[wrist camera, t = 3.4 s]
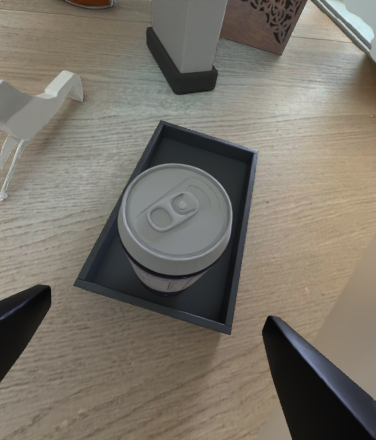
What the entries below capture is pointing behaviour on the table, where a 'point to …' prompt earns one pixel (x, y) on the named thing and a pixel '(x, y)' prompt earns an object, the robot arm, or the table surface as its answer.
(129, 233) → the beverage can
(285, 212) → the table surface
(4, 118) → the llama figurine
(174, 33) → the container
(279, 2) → the tissue box cover
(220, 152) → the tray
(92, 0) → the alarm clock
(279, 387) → the robot arm
